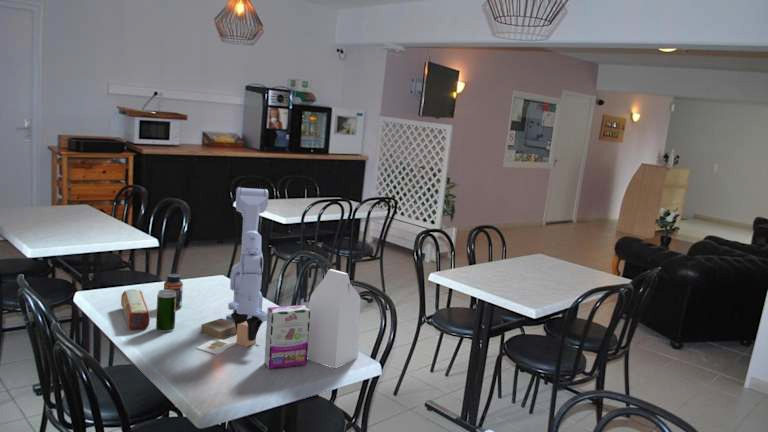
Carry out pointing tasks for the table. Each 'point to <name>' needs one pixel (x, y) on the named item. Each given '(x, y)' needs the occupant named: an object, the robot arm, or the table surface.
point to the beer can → (166, 310)
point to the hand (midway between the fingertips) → (246, 337)
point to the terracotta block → (243, 335)
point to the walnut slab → (219, 328)
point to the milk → (334, 321)
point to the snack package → (135, 309)
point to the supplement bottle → (175, 288)
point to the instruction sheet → (216, 346)
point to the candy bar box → (287, 336)
